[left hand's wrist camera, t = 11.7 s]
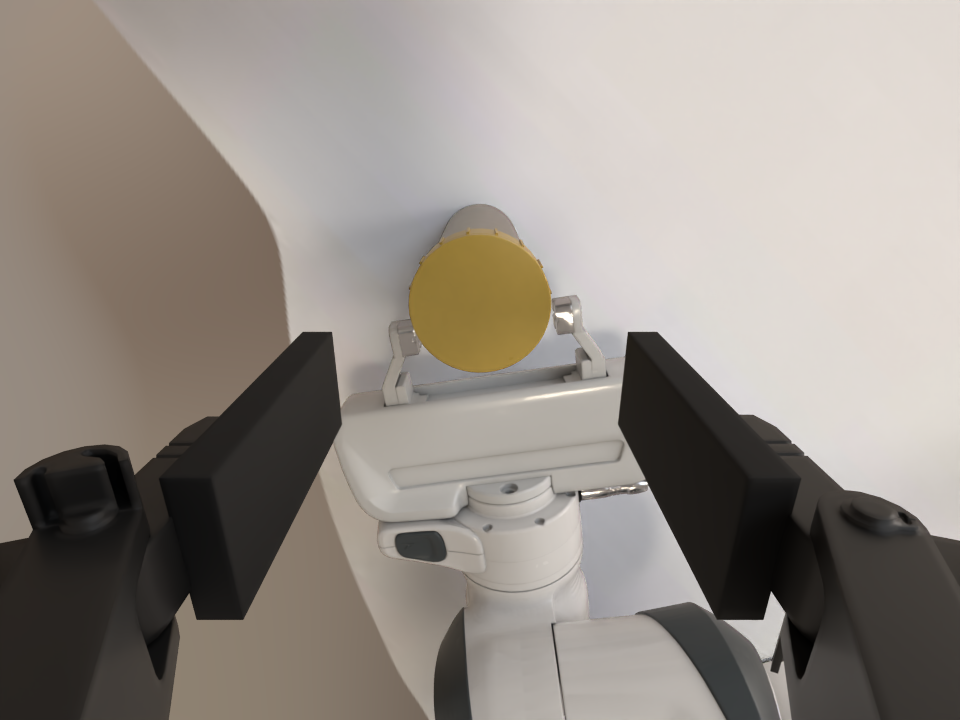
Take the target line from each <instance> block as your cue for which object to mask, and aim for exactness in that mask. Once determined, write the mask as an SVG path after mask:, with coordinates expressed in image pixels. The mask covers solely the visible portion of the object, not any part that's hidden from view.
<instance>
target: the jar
mask: <svg viewBox="0 0 960 720" xmlns="http://www.w3.org/2000/svg"><path fill="white" fill-rule="evenodd" d="M468 227H470V229H479V228H483V229H492V230H494V229H495V228H497V230H498V231H500V232H503V233H505V234H508V235H510V236H512V237H514V238H515V239H517V240H518V241H519V240H520V239H519V237H518V234H517V232H516V230H515V228H514V226H513V224H512V222H511V220H510V219H509V218H508V217H507V216H506V215H505V214H504V213H503V212H502V211H501V210H499V209H497V208H495V207H493V206H490V205H485V204H475V205H470V206H467V207H465V208H463V209H461V210H459V211H458V212H457V213H456V214H454V215H453V217H452V218H451V219H450V220H449V222H448V224H447V226H446V228H445V230H444V232H443V234H442V237H444V238H446V237H448V236H450V235H452V234H454V233H457V232H460V231H463V230H467V228H468ZM442 237H441V238H442ZM440 240H441V239H440ZM439 242H440V241H439Z"/></svg>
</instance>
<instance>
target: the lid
mask: <svg viewBox="0 0 960 720" xmlns="http://www.w3.org/2000/svg"><path fill="white" fill-rule="evenodd" d="M419 264H420V267H419V268H418V270H417V272H416V274H415V276H414V279H413V281H412V283H411V285H410V287H409V290H410V294H409V315H410V318H411V323H412V325H413V328H414V331H415V333H416V335H417V337H418V338H419V340H420V341H421V343H422V344H423V346H424V347H425V348H426V349H427V350H428V351H429V352H430V353H431V354H432V355H433V356H434V357H436V358H437V359H438V360H440V361H442V362H443V363H445V364H447V365H449V366H451V367H453V368H456V369H459V370H463V371H468V372H492V371H497V370H500V369H504V368H506V367H509V366H511V365H513V364H515V363H517V362H518V361H520V360H522V359H523V358H524V357H526V356H527V355H528V354H529V353H530V352H531V351H532V350H533V349H534V348H535V347H536V345H537V344H538V343H539V341H540V340H541V338H542V336H543V335H544V333H545V330H546V328H547V325H548V322H549V319H550V313H551V295H550V294H552V293H551V290H550V288H549V285H548V282H547V279H546V277H545V274H544V272H543V270H542V269H541V268H543V266H542V264H541V262H540V261H539V259H538V260H536V258H535V256H534V255H533V254H532V253H531V251H530V250H529V249H528V248H527V247H526V246H525V245H524V244H523V242H522V240H521V239H520V240H519V241H518V240H517V239H515V238H514V237H512V236H510V235H508V234H505V233H503V232H500V231H498V230H497V228H495V229H494V230H492V229H483V228H479V229H470V227H468V228H467V230H463V231H460V232H457V233H454V234H452V235H450V236H448V237H446V238H444V237H442V238H441V240H440V242H439V243H438V244H436V245H435V246H434V247H433V248H432V249H431V250H430V251H429V253H428V254H427V255H426V257H425V256H423V257H422V259H421V261H420V263H419Z"/></svg>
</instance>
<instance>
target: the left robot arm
mask: <svg viewBox="0 0 960 720" xmlns="http://www.w3.org/2000/svg"><path fill="white" fill-rule="evenodd" d="M341 426H342V418H341V409H340V400H339V391H338V382H337V373H336V364H335V355H334V346H333V337H332V332H302V333H301V334H300V335H299V336H298V337H297V338H296V339H295V340H294V341H293V342H292V344H291V345H290V346H289V347H288V348H287V349H286V350H285V351H284V352H283V353H282V354H281V355H280V356H279V357H278V358H277V359H276V360H275V361H274V362H273V363H272V364H271V365H270V366H269V367H268V368H267V369H266V370H265V371H264V372H263V373H262V374H261V375H260V376H259V377H258V378H257V379H256V380H255V381H254V382H253V383H252V384H251V385H250V386H249V387H248V388H247V389H246V390H245V391H244V392H243V393H242V394H241V395H240V396H239V397H238V398H237V399H236V400H235V401H234V402H233V403H232V404H231V405H230V406H229V407H228V408H227V409H226V410H225V411H224V412H223V413H222V414H221V415H220V416H219V417H206V418H204V419H202V420H200V421H198V422H196V423H194V424H192V425H190V426H189V427H187V428H185V429H184V430H183V431H181V432H180V433H179V434H178V435H177V436H176V437H175V438H174V439H173V440H172V441H171V442H170V443H169V446H165V447H164V448H163V449H162V450H161V451H160V452H159V453H158V454H157V455H156V458H153V459H151V460H150V461H149V462H148V463H147V464H146V465H145V466H144V467H143V468H142V469H141V470H140V471H139V472H138V473H137V474H135V475H134V472H133V468H132V465H131V461H130V458H129V454H128V451H126V450H125V449H123V448H121V447H120V446H113V445H94V446H85V447H80V448H76V449H72V450H68V451H64V452H61V453H59V454H56V455H53V456H51V457H48V458H45V459H43V460H41V461H39V462H37V463H36V464H34V465H32V466H30V467H28V468H27V469H25V470H24V471H23V472H22V473H21V474H20V475H19V476H17V477H16V478H15V479H14V482H15V485H16V488H17V490H18V493H19V495H20V498H21V500H22V503H23V505H24V508H25V511H26V513H27V515H28V518H29V521H30V523H31V526H32V528H33V531H32V533H31V534H30V536H29V538H25V539H21V540H15V541H10V542H5V543H0V720H169V713H170V706H171V699H172V691H173V684H174V677H175V669H176V661H177V654H178V647H179V640H180V635H179V628H178V624H177V620H176V617H175V614H176V612H177V611H178V609H179V608H180V606H181V605H182V603H183V602H184V600H185V599H186V597H187V596H188V594H189V593H190V597H191V600H192V604H193V608H194V611H195V615H196V619H197V620H243V619H244V617H245V615H246V613H247V611H248V609H249V607H250V605H251V603H252V601H253V599H254V597H255V595H256V593H257V591H258V590H259V588H260V586H261V584H262V582H263V580H264V578H265V576H266V574H267V572H268V570H269V568H270V566H271V564H272V562H273V560H274V558H275V556H276V554H277V552H278V550H279V548H280V546H281V544H282V542H283V540H284V538H285V536H286V534H287V532H288V530H289V528H290V526H291V524H292V522H293V520H294V519H295V517H296V515H297V513H298V511H299V509H300V507H301V505H302V503H303V501H304V499H305V497H306V495H307V493H308V491H309V489H310V487H311V485H312V483H313V481H314V479H315V477H316V475H317V473H318V471H319V469H320V467H321V465H322V463H323V461H324V459H325V457H326V455H327V453H328V451H329V449H330V448H331V446H332V444H333V442H334V440H335V438H336V436H337V434H338V432H339V430H340V428H341ZM618 426H619V428H620V430H621V432H622V434H623V436H624V438H625V440H626V442H627V444H628V446H629V448H630V449H631V451H632V453H633V455H634V457H635V459H636V461H637V463H638V465H639V467H640V469H641V471H642V473H643V475H644V477H645V479H646V481H647V483H648V485H649V487H650V489H651V491H652V493H653V495H654V497H655V499H656V501H657V503H658V505H659V507H660V509H661V511H662V513H663V515H664V517H665V519H666V521H667V522H668V524H669V526H670V528H671V530H672V532H673V534H674V536H675V538H676V540H677V542H678V544H679V546H680V548H681V550H682V552H683V554H684V556H685V558H686V560H687V562H688V564H689V566H690V568H691V570H692V572H693V574H694V576H695V578H696V580H697V582H698V584H699V586H700V588H701V590H702V592H703V593H704V595H705V597H706V599H707V601H708V603H709V605H710V607H711V609H712V611H713V613H714V615H715V617H716V619H717V620H763V619H764V615H765V612H766V608H767V604H768V601H769V597H770V593H771V591H772V593H773V594H774V596H775V597H776V599H777V600H778V602H779V603H780V605H781V606H782V608H783V609H784V611H785V612H786V613H785V617H784V620H783V624H782V627H781V631H780V634H779V638H778V641H777V645H776V648H775V652H774V655H773V658H772V663H771V669H770V671H771V672H774V673H777V674H778V672H779V669H780V665H781V662H783V661H784V668H785V675H786V682H787V690H788V697H789V704H790V712H791V719H792V720H960V541H958V540H953V539H948V538H943V537H937V536H932V535H930V533H929V532H928V530H927V528H926V527H925V526H924V525H923V524H922V523H921V522H920V521H919V519H918V518H917V517H915V516H914V515H912V514H911V513H909V512H908V511H906V510H905V509H903V508H902V507H900V506H898V505H896V504H894V503H891V502H889V501H887V500H885V499H882V498H880V497H877V496H873V495H869V494H866V493H862V492H856V491H847V490H844V489H843V488H841V487H840V486H839V485H838V484H837V483H836V482H835V481H834V480H833V479H832V478H831V477H830V476H828V475H827V474H826V473H825V472H824V471H823V470H822V469H821V468H820V467H819V466H818V465H817V464H816V463H814V462H813V461H812V460H811V459H810V458H809V457H808V456H804V452H803V451H802V450H800V449H799V448H798V447H797V446H796V445H795V444H792V443H791V440H790V439H789V438H787V437H786V436H785V435H784V434H783V433H782V432H781V431H780V430H779V429H778V428H777V427H775V426H773V425H771V424H770V423H768V422H766V421H764V420H762V419H760V418H758V417H756V416H754V415H739V414H738V413H737V412H736V411H735V410H734V409H733V408H732V407H731V406H730V405H729V404H728V403H727V402H726V401H725V400H724V399H723V398H722V397H721V396H720V395H719V394H718V393H717V392H716V391H715V390H714V389H713V388H712V387H711V386H710V385H709V384H708V383H707V382H706V381H705V380H704V379H703V378H702V377H701V376H700V375H699V374H698V373H697V372H696V371H695V370H694V369H693V368H692V367H691V366H690V365H689V364H688V363H687V362H686V361H685V360H684V359H683V358H682V357H681V356H680V355H679V354H678V353H677V352H676V351H675V350H674V349H673V348H672V347H671V346H670V345H669V344H668V342H667V341H666V340H665V339H664V338H663V337H662V336H661V335H660V334H659V333H658V332H628V337H627V346H626V355H625V364H624V373H623V382H622V391H621V400H620V409H619V418H618Z"/></svg>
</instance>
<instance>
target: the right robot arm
mask: <svg viewBox="0 0 960 720" xmlns="http://www.w3.org/2000/svg"><path fill="white" fill-rule="evenodd" d="M551 304H552V309H553V311H554V313H553V323H554V327H555V329H556V332H557V334H558V335H561V334H569V333H572V335H573V336H574V337H575V339H576V340H577V341H578V342H579V344H580V345H581V346H582V348H577V349H576V350H575V356H576V363H575V364H567V365H560V366H553V367H546V368H538V369H531V370H524V371H516V372H509V373H502V374H495V375H487V376H480V377H473V378H466V379H458V380H451V381H444V382H436V383H429V384H422V385H415V386H412V382H411V378H410V373H408V372H403V373H401V374H400V371H401V368H402V365H403V362H404V360H405V357H406V356H412V355H418V354H419V352H420V348H421V345H422V343H421V341H420V340H419V338H418V337H417V335H416V333H415V331H414V328H413V325H412V323H411V319H408V320H398V321H393V322H391V324H390V326H389V337H390V341H391V345H392V350H393V354H394V356H393V358H392V361H391V364H390V366H389V369H388V372H387V375H386V378H385V381H384V383H383V386H382V390H378V391H371V392H363V393H356V394H352V395H350V396H349V397H348V398H347V399H346V401H345V402H344V404H343V405H342V407H341V408H340V409H341V418H342V426H341V428H340V430H339V432H338V434H337V436H336V438H335V440H334V442H333V443H334V447H335V450H336V453H337V456H338V459H339V462H340V465H341V468H342V470H343V473H344V475H345V478H346V480H347V482H348V485H349V487H350V489H351V491H352V493H353V495H354V497H355V499H356V501H357V503H358V504H359V506H360V507H361V508H362V509H363V510H364V511H365V512H366V513H367V514H368V515H369V516H371V517H373V518H374V519H377V520H379V523H378V533H377V541H378V546H379V549H380V551H381V552H382V553H383V554H384V555H385V556H387V557H390V558H394V559H401V560H409V561H416V562H423V563H429V564H435V565H440V566H444V567H448V568H452V569H456V570H459V571H462V573H463V574H464V576H465V578H466V581H467V586H466V608H464V607H463V608H462V609H461V610H460V612H459V613H458V614H457V616H456V617H455V619H454V620H453V622H452V624H451V626H450V628H449V629H448V631H447V633H446V635H445V637H444V639H443V641H442V643H441V645H440V649H439V652H438V656H437V661H436V667H435V677H434V711H435V720H564V715H565V720H792V719H791V712H790V704H789V697H788V690H787V682H786V675H785V668H784V661H783V662H781V665H780V669H779V672H778V674H777V673H774V672H771V671H770V669H771V663H772V661H768V662H765V663H762V661H761V659H760V656H759V654H758V652H757V651H756V649H755V647H754V646H753V644H752V643H751V642H750V641H749V640H748V639H747V638H746V637H744V636H743V635H742V634H741V633H740V632H738V631H737V630H736V629H735V628H733V627H732V626H730V625H729V624H728V623H726V622H725V621H723V620H717V619H716V617H715V615H714V614H712V613H711V612H709V611H707V610H705V609H704V608H702V607H700V606H698V605H696V604H694V603H691V602H687V603H682V604H676V605H671V606H666V607H661V608H656V609H651V610H646V611H641V612H638V613H636V614H635V615H629V616H619V617H609V618H599V619H589V600H588V589H587V583H586V580H585V577H584V574H583V572H582V570H581V568H580V563H581V559H582V554H583V536H582V525H581V514H580V505H579V502H581V501H582V500H591V499H598V498H605V497H610V496H612V495H619V494H638V493H642V492H645V491H647V490H648V486H649V485H648V483H647V481H646V479H645V477H644V475H643V473H642V471H641V469H640V467H639V465H638V463H637V461H636V459H635V457H634V455H633V453H632V451H631V449H630V448H629V446H628V444H627V442H626V440H625V438H624V436H623V434H622V432H621V430H620V428H619V426H618V418H619V409H620V400H621V391H622V382H623V373H624V364H625V357H618V358H611V359H605V357H604V355H603V354H602V352H601V350H600V349H599V347H598V346H597V344H596V343H595V341H594V340H593V339H592V337H591V336H590V335H589V333H588V332H587V331H586V330H585V328H584V327H583V322H582V310H581V303H580V300H579V298H578V297H577V295H572V296H565V297H559V298H553V299H551Z"/></svg>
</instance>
